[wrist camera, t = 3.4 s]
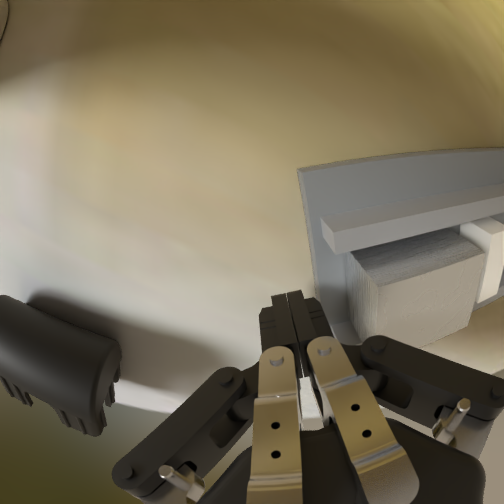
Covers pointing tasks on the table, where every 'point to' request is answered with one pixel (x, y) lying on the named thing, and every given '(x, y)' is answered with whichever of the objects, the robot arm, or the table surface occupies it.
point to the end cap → (57, 365)
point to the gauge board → (392, 211)
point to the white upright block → (487, 252)
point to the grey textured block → (413, 287)
